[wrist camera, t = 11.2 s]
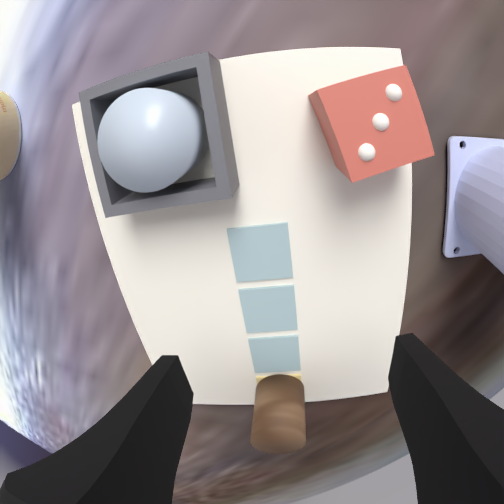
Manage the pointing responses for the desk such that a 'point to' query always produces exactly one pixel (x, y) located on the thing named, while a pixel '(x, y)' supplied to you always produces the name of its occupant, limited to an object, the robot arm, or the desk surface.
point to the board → (259, 232)
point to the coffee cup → (9, 134)
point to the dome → (151, 138)
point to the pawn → (279, 415)
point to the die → (372, 123)
